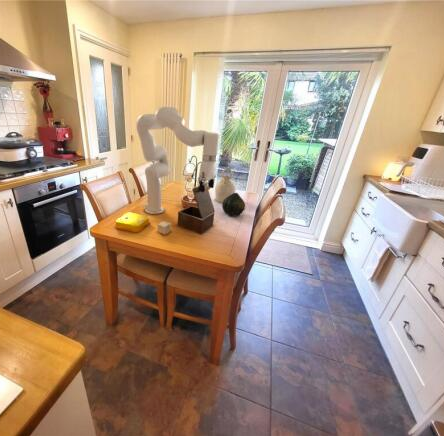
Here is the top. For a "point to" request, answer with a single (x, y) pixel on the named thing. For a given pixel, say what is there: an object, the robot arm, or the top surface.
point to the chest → (194, 220)
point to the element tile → (132, 222)
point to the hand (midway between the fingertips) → (206, 189)
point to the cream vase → (224, 187)
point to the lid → (203, 201)
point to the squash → (233, 204)
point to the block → (163, 227)
